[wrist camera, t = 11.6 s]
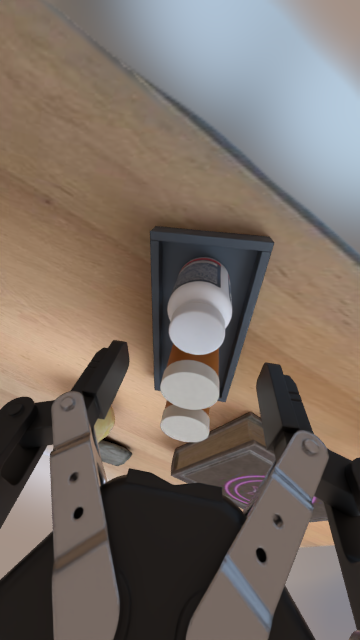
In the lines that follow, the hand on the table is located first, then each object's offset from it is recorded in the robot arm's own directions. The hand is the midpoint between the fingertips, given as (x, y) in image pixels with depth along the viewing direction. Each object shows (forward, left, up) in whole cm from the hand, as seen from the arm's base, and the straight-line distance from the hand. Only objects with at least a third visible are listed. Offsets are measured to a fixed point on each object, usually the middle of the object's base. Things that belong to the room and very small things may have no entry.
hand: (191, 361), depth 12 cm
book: (+40, +17, -12) cm, 45 cm away
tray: (+7, 0, -12) cm, 14 cm away
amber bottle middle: (+7, 0, -12) cm, 13 cm away
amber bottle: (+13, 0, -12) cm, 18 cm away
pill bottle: (0, 0, -12) cm, 12 cm away
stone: (+46, -18, -12) cm, 51 cm away
